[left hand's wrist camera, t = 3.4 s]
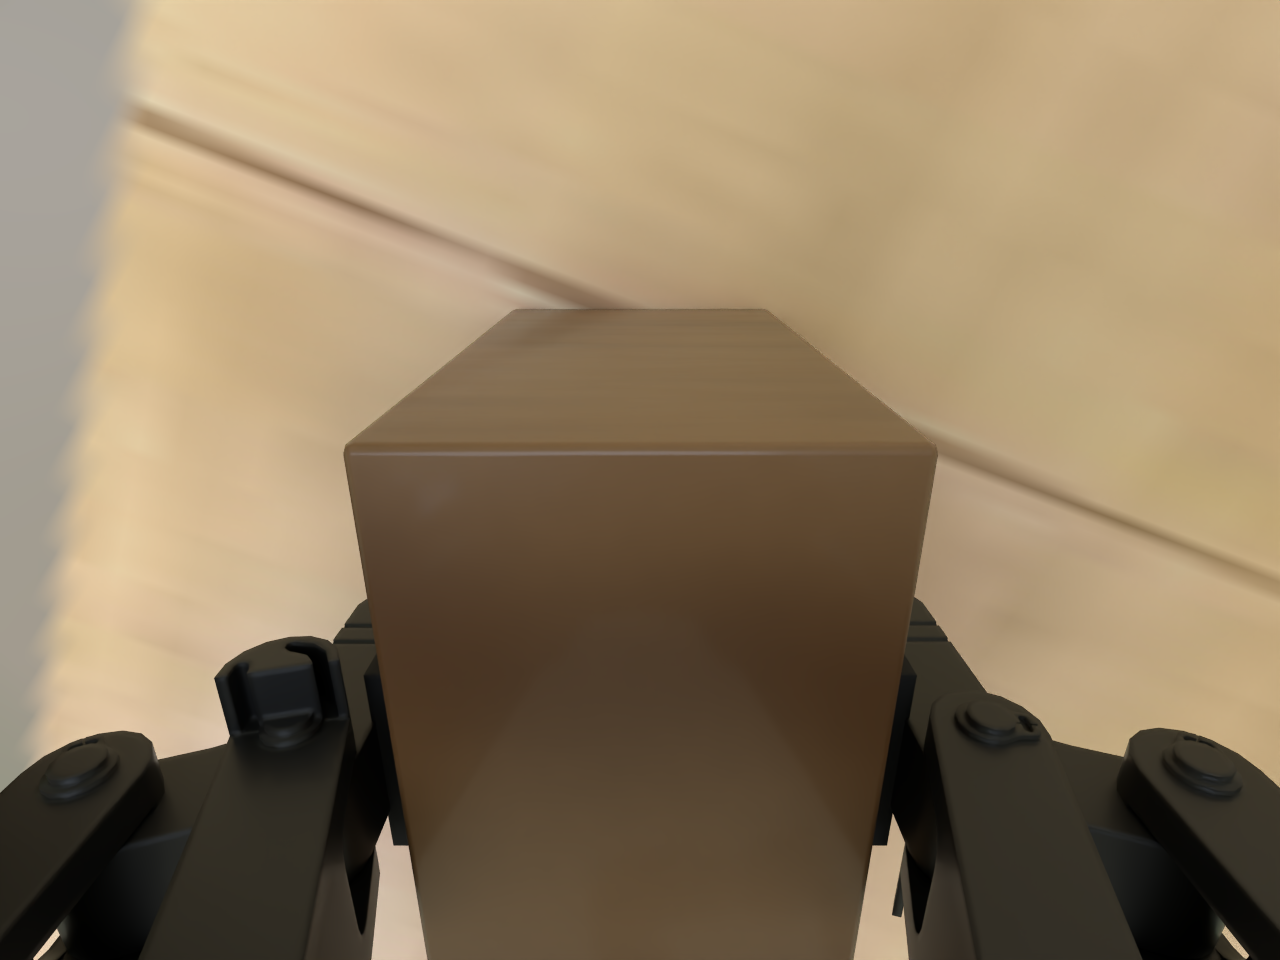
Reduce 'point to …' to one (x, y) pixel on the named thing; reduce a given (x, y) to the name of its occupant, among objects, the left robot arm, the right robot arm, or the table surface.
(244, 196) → the table surface
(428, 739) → the bar
